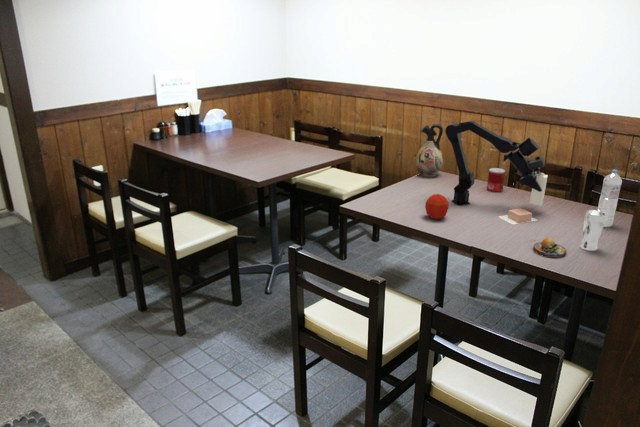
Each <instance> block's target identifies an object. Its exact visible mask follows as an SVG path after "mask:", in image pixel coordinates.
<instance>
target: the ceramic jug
mask: <svg viewBox="0 0 640 427" xmlns="http://www.w3.org/2000/svg"><path fill="white" fill-rule="evenodd" d="M435 128H437V129H439V134H438V133H437V132H436V130H435ZM419 132H421V133H423V134H425V135H426V136H427V138H426V141H425V142H424V143H423V144H422V146H421V147H420V148H419V150H418V152H417V154H416V157H415V159H414V160H415V162H414V163H415V168H416V170H417V171H418V173H419V175H420V176H421V177H425V178H434V177H436V176H438V173H439V172H440V171H441V170H442V169H443V164H444V158H443V157H444V156H443V154H442V151H441V147H440V143H439V142H440V141H441V139H442V136H443V134H444V128H443V126H442V124H439V123H433V124H432V125H431V126H429V125H425V126H424V127H423V128H421V129H420V131H419ZM437 135H438V136H437ZM435 136H437V138H436V140H435Z"/></svg>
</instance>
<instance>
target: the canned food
mask: <svg viewBox="0 0 640 427" xmlns="http://www.w3.org/2000/svg"><path fill="white" fill-rule="evenodd" d="M505 176H506V170H505V169H503V168H500V167H499V168H498V167H491V168H489V170H488V175H487V185H486V190H487V191H488V192H492V193H501V192H502V191H503V190H504V183H505V182H504V181H505Z"/></svg>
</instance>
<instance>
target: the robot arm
mask: <svg viewBox="0 0 640 427" xmlns="http://www.w3.org/2000/svg"><path fill="white" fill-rule="evenodd" d="M466 131H467V132H468V131H470V132H472V133H473V134H475V135H477V136H478V137H480V138H483V139H484V140H485V141H487V142H489V143H491V144H492V145H493V146H494V147H495V149H497V150H498V151H499V152H500V153H501V154H503V162H505V161H507V160H508V161H509V162H510V163H511V164H512V166H513V167H514V170H515V171H516V172H518V173H519V175H520V180H519V184H520V185H521V186H522V187H523V186H527V187H529V188H531V189H532V188H533V189H535V190H537V191H539V192H541V191H542V189H541V188H540V186H539V184H538V182H537V181H536V178H537V176H535V174H538V173H541V168H543V167H545V164H546V163H545V159H544V158H543V157H541V156H540V155H537V156H536V157H535V159H534V160H529V159H526V156H527V157H530V156H531V155H533V154H534V153H535V152H537V151H538V150H540V146H539V145H538V143H537V142H536V141H535V140H533V139H532V138H531V137H530V136H529V137H527V138H526V139H525V140H524V141H522V142H521V143H520V142H516V141H514V140H513V139H511V138H508V137H507V136H503V135H499V134H496V133H494V132H493V131H491V130H489V129H488V128H487V127H484V126H482V125H481V124H479V123H477V122H476V121H475V120H472V119H471V120H468V121H462V122H459V123H457V122H452V123H450V124H449V125H447V126H446V128H445V129H444V132H445V136H446V138H447V140H448V141H449V142H450V143H451V146H452V150H453V154H454V157H455V161H456V166H457V169H458V183H457V184H456V185H455V187H453V199H452V200H451V202H452V203H453V204H456V205H457V206H462V205H468V204H470V201H469V200H470V191H469V190H470V189H471V188H472V187H473V185H474V183H475V181H476V177H475V175H474V171H473V170H472V171H471V170H470V168H468V162H467V159H466V155H465V151H464V148H463V143H462V133H464V132H466Z"/></svg>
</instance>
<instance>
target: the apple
mask: <svg viewBox="0 0 640 427" xmlns="http://www.w3.org/2000/svg"><path fill="white" fill-rule="evenodd" d="M449 206H450V203H449V200H448V198H446V197H445V196H444V195H443V194H439V193H435V194H431V195H429V197H428V198H427V199H426V200H425V205H424V207H425V208H424V209H425V212H426V214H427V216H429V217H430V218H432V219H434V220H440V219H443V218H444V217H446V216H447V213H448V212H449V208H450V207H449Z"/></svg>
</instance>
